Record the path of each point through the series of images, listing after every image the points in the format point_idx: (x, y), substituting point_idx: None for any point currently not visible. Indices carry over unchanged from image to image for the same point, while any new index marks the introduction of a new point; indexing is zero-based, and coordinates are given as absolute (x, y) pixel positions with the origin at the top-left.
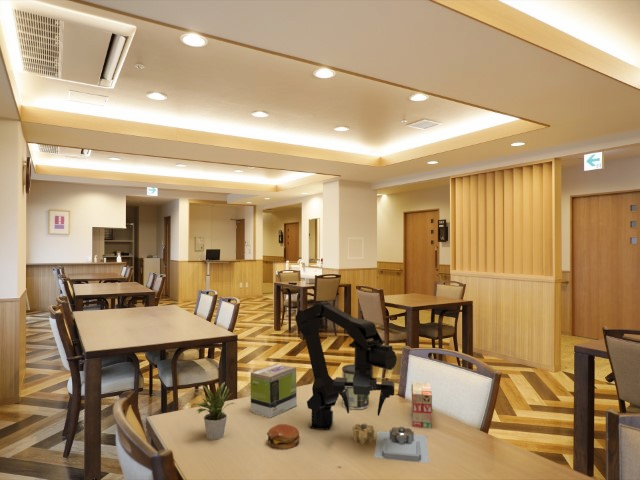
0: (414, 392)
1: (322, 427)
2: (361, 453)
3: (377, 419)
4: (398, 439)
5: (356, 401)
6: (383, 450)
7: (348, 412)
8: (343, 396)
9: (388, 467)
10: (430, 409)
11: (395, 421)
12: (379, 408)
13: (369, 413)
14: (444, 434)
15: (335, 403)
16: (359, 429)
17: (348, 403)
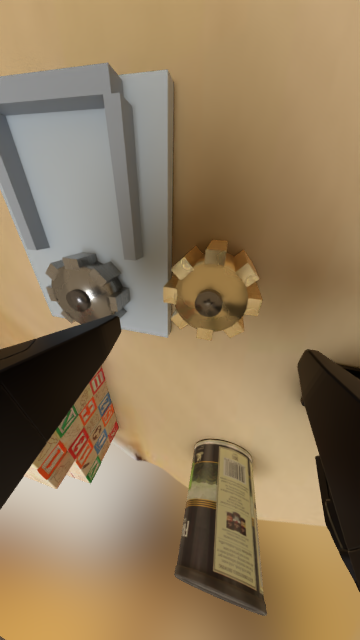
0: None
1: (354, 373)
2: (227, 179)
3: (175, 400)
4: (92, 264)
5: (220, 461)
6: (116, 110)
7: (313, 351)
8: None
9: (105, 28)
10: None
11: (137, 389)
12: (70, 332)
13: (193, 423)
14: (37, 333)
15: (317, 464)
16: (229, 283)
17: (342, 422)
